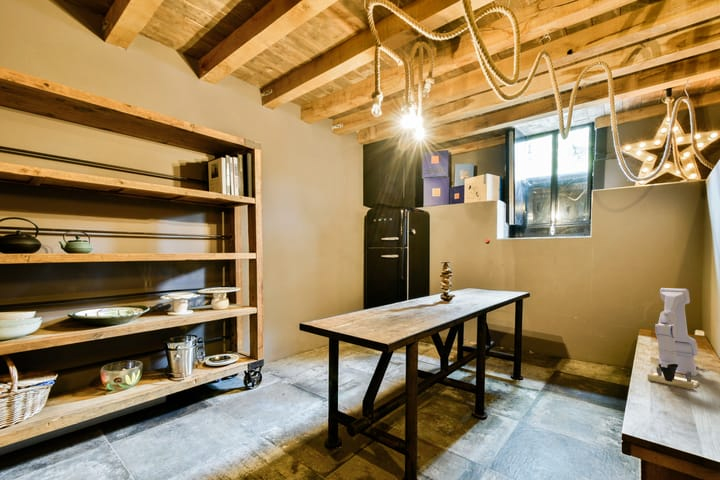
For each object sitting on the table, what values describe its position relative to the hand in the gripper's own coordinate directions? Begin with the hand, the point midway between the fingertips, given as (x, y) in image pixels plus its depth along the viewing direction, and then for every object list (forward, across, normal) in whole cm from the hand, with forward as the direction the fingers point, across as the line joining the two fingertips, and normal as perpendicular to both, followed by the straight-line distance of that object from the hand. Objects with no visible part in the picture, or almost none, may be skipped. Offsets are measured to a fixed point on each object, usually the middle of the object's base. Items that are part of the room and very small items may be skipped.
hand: (669, 380), depth 146 cm
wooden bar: (+2, 0, 0) cm, 2 cm away
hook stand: (+2, -8, 0) cm, 8 cm away
